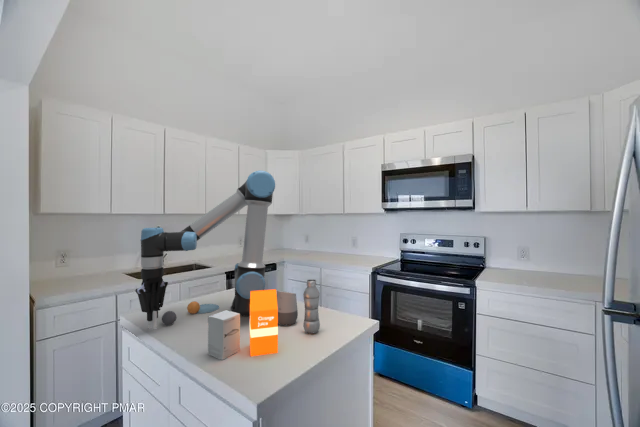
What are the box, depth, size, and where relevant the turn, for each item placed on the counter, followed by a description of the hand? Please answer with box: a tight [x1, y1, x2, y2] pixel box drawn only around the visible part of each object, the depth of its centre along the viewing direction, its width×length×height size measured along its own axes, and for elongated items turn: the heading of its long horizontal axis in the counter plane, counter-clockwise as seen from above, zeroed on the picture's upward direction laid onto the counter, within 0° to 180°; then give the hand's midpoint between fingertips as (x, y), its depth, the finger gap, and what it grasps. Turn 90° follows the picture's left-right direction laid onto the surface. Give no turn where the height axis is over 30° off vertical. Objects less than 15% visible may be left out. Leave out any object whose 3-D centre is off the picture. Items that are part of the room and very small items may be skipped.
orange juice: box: [249, 288, 279, 357], centre depth 95 cm, size 8×9×20 cm
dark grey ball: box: [161, 310, 178, 326], centre depth 116 cm, size 6×6×6 cm
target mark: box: [195, 303, 220, 315], centre depth 136 cm, size 14×14×1 cm
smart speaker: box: [276, 290, 299, 327], centre depth 118 cm, size 10×9×14 cm
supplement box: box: [207, 309, 241, 361], centre depth 92 cm, size 7×7×13 cm
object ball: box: [186, 300, 201, 315], centre depth 130 cm, size 6×6×6 cm
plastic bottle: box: [302, 279, 321, 334], centre depth 109 cm, size 6×7×20 cm
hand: (152, 328), depth 108 cm, fingers closed
